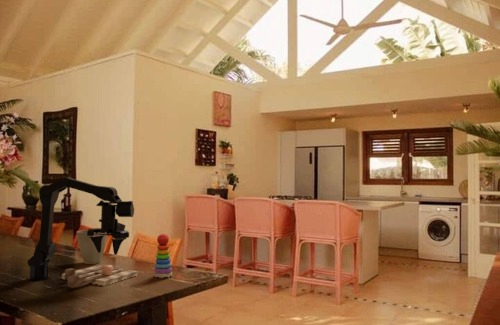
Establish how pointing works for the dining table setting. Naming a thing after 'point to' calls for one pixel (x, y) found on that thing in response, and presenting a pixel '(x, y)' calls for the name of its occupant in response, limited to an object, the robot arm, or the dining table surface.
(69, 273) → the strip
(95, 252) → the plant pot
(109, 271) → the pink egg
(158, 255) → the stacking toy
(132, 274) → the lane board
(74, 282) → the strip
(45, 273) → the robot arm
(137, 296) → the dining table surface
